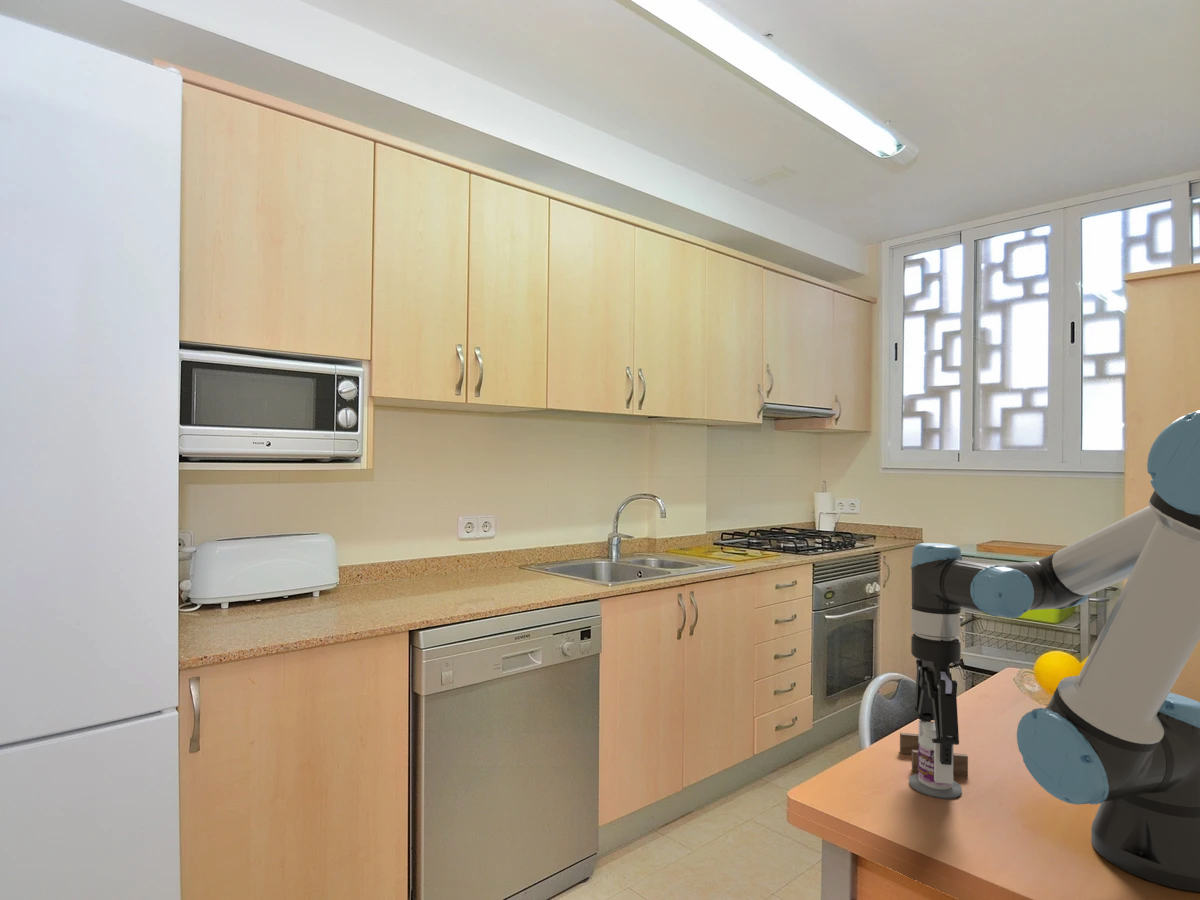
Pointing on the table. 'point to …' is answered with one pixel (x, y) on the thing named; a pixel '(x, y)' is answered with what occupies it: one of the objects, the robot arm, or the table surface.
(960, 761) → the rail cradle
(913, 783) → the coaster
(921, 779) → the pill bottle
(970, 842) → the table surface
